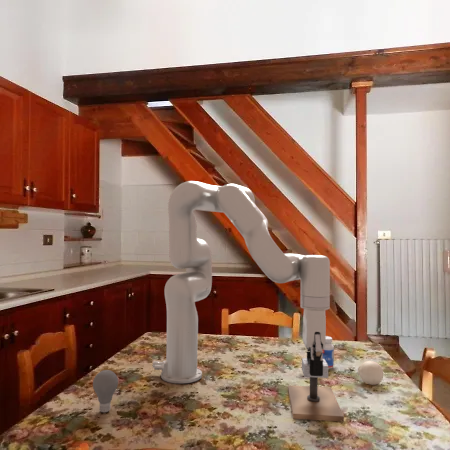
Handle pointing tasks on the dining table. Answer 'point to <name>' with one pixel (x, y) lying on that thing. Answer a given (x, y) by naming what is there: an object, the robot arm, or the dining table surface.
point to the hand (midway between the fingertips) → (314, 370)
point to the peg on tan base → (314, 402)
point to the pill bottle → (328, 352)
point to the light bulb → (105, 388)
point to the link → (307, 368)
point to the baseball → (370, 372)
